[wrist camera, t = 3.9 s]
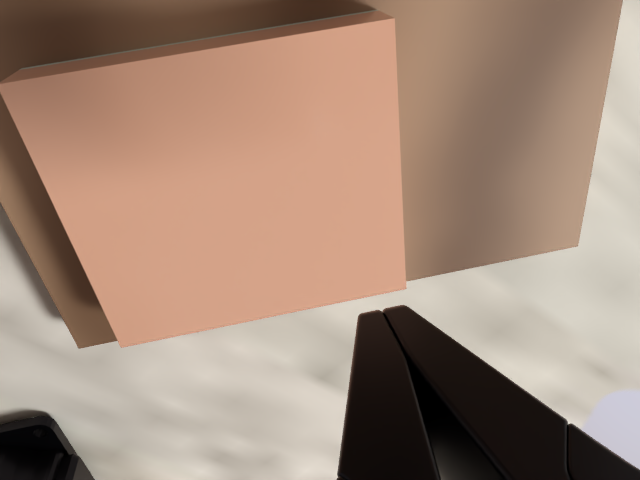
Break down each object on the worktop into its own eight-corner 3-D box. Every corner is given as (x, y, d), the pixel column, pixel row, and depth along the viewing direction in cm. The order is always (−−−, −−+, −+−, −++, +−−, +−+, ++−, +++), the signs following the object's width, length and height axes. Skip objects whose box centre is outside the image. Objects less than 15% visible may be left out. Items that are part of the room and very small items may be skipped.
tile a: (391, 261, 17) (129, 314, 16) (376, 9, 13) (21, 68, 12) (406, 289, 16) (121, 347, 15) (395, 17, 11) (-4, 84, 11)
